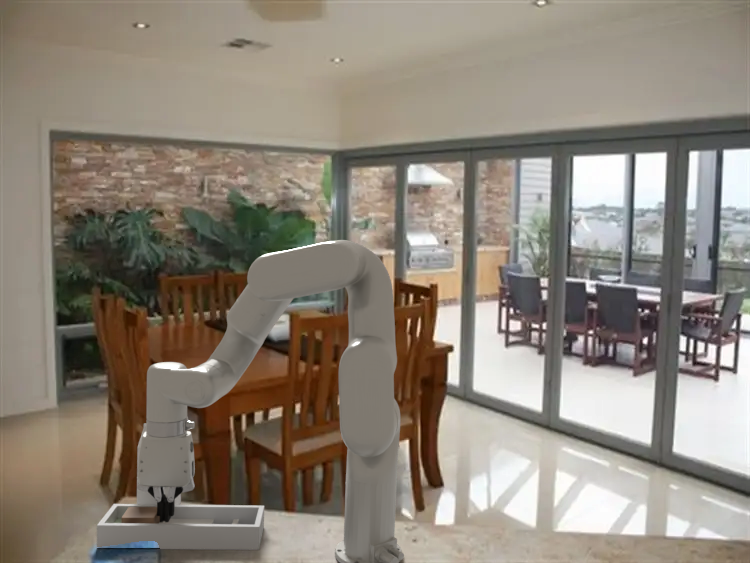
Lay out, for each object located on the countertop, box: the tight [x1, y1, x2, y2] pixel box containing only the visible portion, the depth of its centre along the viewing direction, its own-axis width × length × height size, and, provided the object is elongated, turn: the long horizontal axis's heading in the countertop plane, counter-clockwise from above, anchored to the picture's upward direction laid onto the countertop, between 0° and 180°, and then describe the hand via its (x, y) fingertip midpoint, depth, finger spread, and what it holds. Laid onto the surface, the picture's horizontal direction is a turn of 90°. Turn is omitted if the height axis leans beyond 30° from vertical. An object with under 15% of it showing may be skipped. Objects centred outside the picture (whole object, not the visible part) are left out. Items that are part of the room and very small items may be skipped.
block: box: [121, 507, 160, 524], centre depth 133 cm, size 6×5×3 cm
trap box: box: [96, 503, 265, 551], centre depth 134 cm, size 30×10×4 cm, turn 94°
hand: (165, 519), depth 134 cm, fingers closed
